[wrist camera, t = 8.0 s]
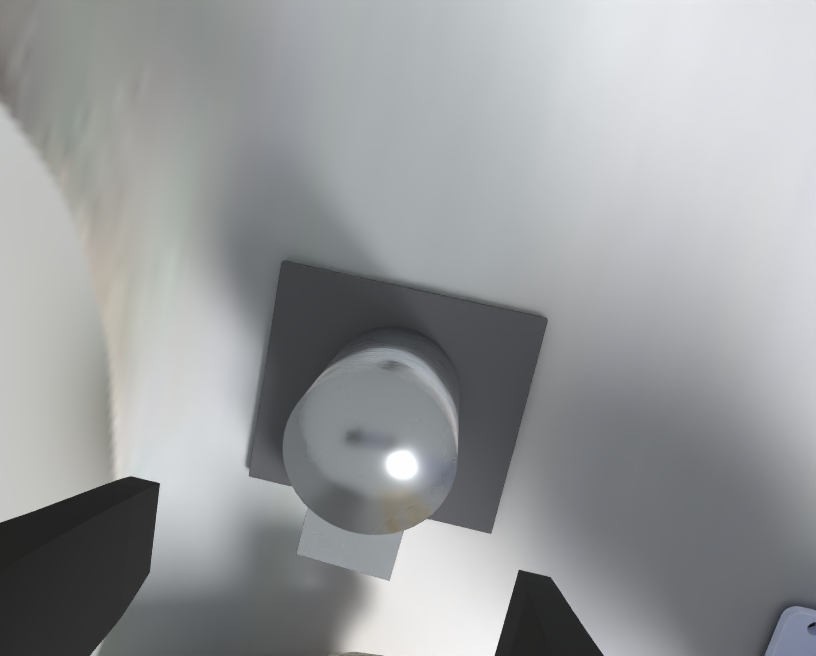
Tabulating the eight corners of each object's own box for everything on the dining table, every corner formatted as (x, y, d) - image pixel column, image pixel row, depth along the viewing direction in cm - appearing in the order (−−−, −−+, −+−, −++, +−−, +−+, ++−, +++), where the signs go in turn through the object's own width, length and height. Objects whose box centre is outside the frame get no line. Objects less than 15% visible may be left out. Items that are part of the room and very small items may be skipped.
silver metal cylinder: (476, 346, 20) (478, 398, 15) (422, 529, 22) (408, 631, 17) (343, 310, 20) (302, 350, 15) (300, 495, 22) (250, 585, 17)
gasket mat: (546, 318, 20) (547, 320, 20) (490, 529, 22) (490, 533, 22) (284, 260, 21) (281, 261, 20) (251, 472, 22) (248, 476, 22)
